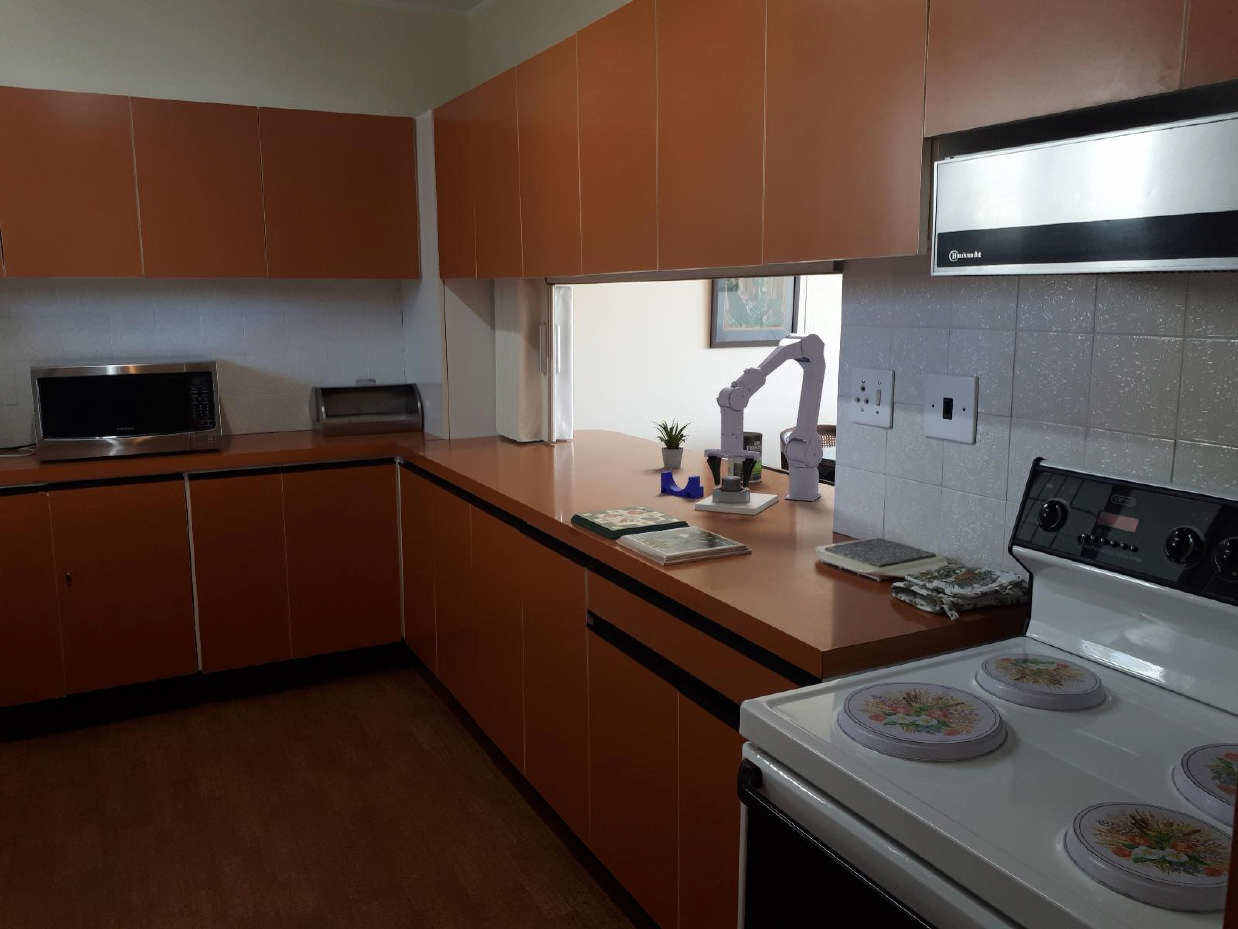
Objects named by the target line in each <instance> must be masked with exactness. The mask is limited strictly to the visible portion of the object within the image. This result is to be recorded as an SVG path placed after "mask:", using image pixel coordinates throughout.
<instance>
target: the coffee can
mask: <svg viewBox="0 0 1238 929" xmlns="http://www.w3.org/2000/svg"><path fill="white" fill-rule="evenodd" d="M763 436H764V434H763V433H761V432H757V431H743V450H746V451H754V452H760V460H757V463H756V465H755V466H754V469H753V471H752V473H751V476H750V480H749V484H757V483H761V482H762V480H763V479H762V471H763V470H762V464H763V463H762V462H763V461H762V460H763ZM738 457H739V456H738ZM744 460H745V459H734V458H727V476H738V477H741V484H743V466H742V461H744ZM760 481H761V482H760Z"/></svg>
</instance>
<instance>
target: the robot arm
mask: <svg viewBox="0 0 1238 929" xmlns="http://www.w3.org/2000/svg"><path fill="white" fill-rule="evenodd" d="M825 345H826V344H825V342H824V341H823V340H822V338H821V337H820V336H819V335H818V334H816V333H796V332H791V333H788V334H786V336H785V337H784V338H782V339H780V341H779V344H778V345H777V346H776V347H775V348H774V350H772V351H771V353H769V354H768V355H767V356H766V358H765V359H764V360H762V362H760V364H759V365H758V366H756V367H753V366H752V367H749V368H745V369H744V370H743V374H741V375H740V376H739V377H738V378H737V379H736V380H733V381H732V382H731V383H730V384H731V385H730V386H725V387H723V388H722V389H721V390H720V391H719V393H718V396H717V397H716V403H717V405H718V406H719V409H720V412H719V413H720V448H705V449H704V450H703V453H704V454H703V457H704V458H706V463H707V465H708V467H709V469H710V471H711V474H712V478H713V481H714V485H715V487H718V486H720V484H721V469H722V468H721V466H722V459H728V458H734V459H745V460H744V461H742V466H743V483H742V487H743V488H748V487H749V484H750V483H749V480H750V476H751V473H752V471H753V469H754V466H755V465H756V463H757V460H760V452H754V451H746V450H743V432H744V414H745V413H744V412H745V410H744V409H746V408H747V407H748V405H749V402H750V399H751V397H752V396H754V395H755V394H756V393H757V392H758V391H759V390H760V389H761V388H763V387H764V386H765V385H766V381H767V377H768V376H769V375H770V374H772V373H773V372H774V371H776V370H777V368H779V367H781V366H782V365H783V364H784V363H785V362H787V361H789V360H793V361H795V362H796V363H797V364H798V365H799V366H800V367H801V369H802V370H803V374H802V382H801V390H800V395H799V396H800V398H799V404H798V411H797V418H796V423H795V425H796V426H795V428H794V430H792V431H791V432H790V433H789V435H788V440H787V442H786V444H785V446H784V449H783V450H784V452H783V453H784V456H785V459H787V461H788V465H789V477H788V480H789V481H788V488H789V489H788V494H787V495H786V496H784V499H785V500H796V501H805V502H806V501H808V502H813V501H816V500H818V499H819V498H820V497H821V496H822V495H823V494H822V493H819V482H820V481H819V479H820V474H819V472H820V471H819V469H818V467H819V464H820V463H821V461H823V460H822V459H823V457H824V450H823V439H822V436H820V434H819V433H818V429H817V428H818V422H819V416H820V410H821V409H820V408H821V402H822V396H823V388H824V380H825V375H826V366H827V365H826V357H825V355H824V352H825ZM738 456H739V457H738Z"/></svg>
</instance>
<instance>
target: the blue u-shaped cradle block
mask: <svg viewBox="0 0 1238 929" xmlns="http://www.w3.org/2000/svg"><path fill="white" fill-rule="evenodd" d="M704 491H705V488H704V486H703V485H701V476H700V475H692V476H691V475H690V476H688V478H687V483H686V485H685V487H683V488H681V487H679V486H678V484H676V481H675V480H674V475H673V471H671V470H665V471H661V472H660V494H665V495H670V496H671V495H672V496H674V497H675V496H677V497H681V498H687V499H692V500H693V499H698V498H704V496H705V493H704Z"/></svg>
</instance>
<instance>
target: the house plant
mask: <svg viewBox="0 0 1238 929" xmlns="http://www.w3.org/2000/svg"><path fill="white" fill-rule="evenodd" d="M675 419H676V417H675V418H673V420H672V425H671V426H670V427H668V424H667V421H665V420H664V419H663V420H662V421H661V424H658V423H657V422H655V421H653V423H654V424H655V425H658V427H653V429H654V428H655V429H657V430H659V432H660V433H661V435H662V436H660V435H658V436H656V439H657V438H658V439H659V440H660V443H662V442H663V443H664V445H665V446H664V447H661V453H662V454H661V455H662V461H663V468H664V467H665V468H664V469H668V468H677V469H680V468H681V465H682V460H683V454H684V447H680V445H681V444H682V442H683V443H684V444H685V443H686V438H687V437H689V436H690V435H685V434H684V433H683V431H684V430H685V429H686V428H687V427H688V425H690V424H692V423H693V422H689V423H686V424H685V425H683V427H681V428H680V429H679V423H678V422H676V424H674V423H675ZM650 422H651V423H652V421H650ZM650 422H649V423H650ZM659 427H660V428H659ZM674 429H675V430H674ZM683 438H684V439H683Z"/></svg>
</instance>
